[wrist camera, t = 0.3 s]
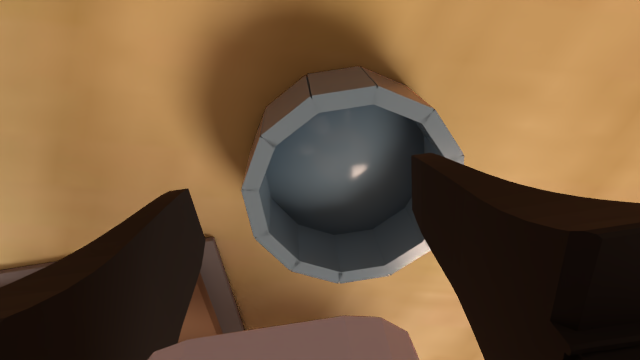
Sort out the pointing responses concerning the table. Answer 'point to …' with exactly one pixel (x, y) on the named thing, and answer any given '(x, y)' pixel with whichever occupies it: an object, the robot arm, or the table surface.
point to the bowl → (342, 174)
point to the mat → (210, 274)
